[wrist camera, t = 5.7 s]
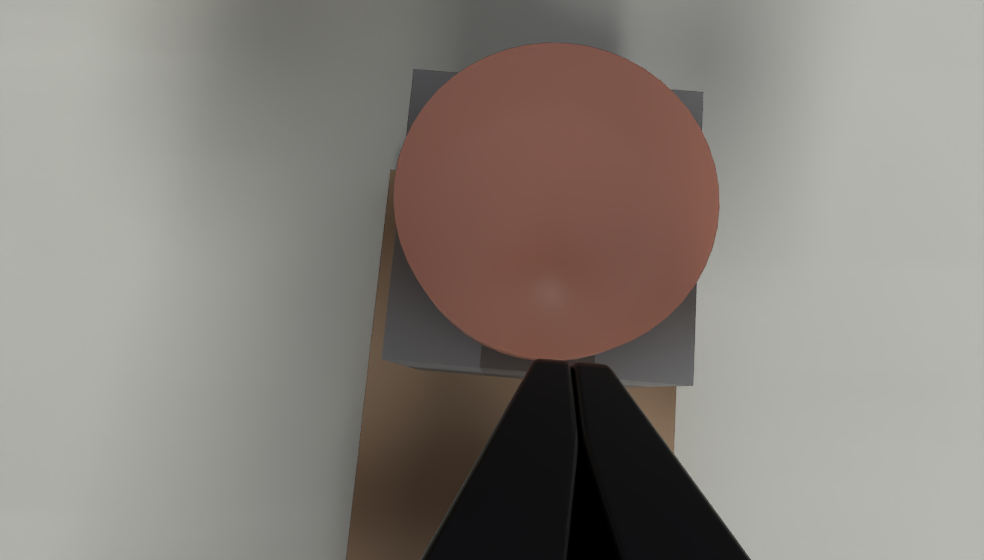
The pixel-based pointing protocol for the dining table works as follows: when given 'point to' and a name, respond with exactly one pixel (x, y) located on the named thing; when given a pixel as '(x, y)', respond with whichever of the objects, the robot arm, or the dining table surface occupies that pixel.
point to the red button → (556, 201)
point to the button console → (464, 390)
